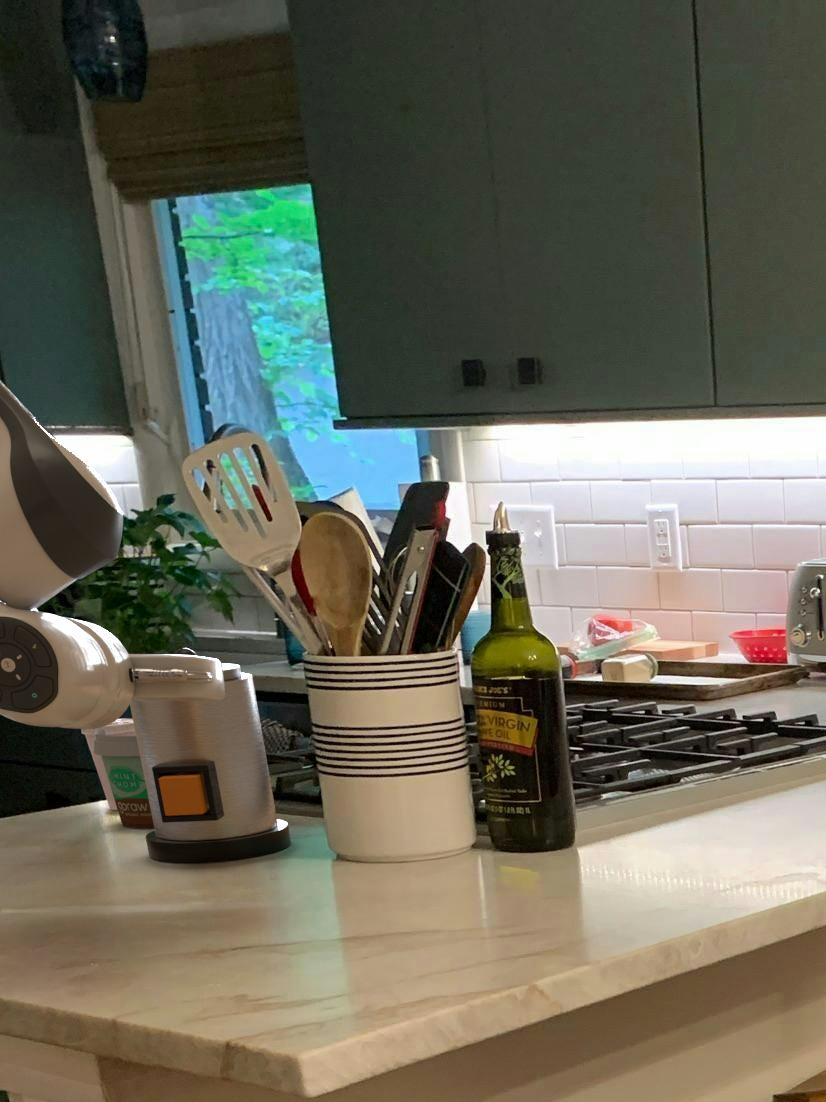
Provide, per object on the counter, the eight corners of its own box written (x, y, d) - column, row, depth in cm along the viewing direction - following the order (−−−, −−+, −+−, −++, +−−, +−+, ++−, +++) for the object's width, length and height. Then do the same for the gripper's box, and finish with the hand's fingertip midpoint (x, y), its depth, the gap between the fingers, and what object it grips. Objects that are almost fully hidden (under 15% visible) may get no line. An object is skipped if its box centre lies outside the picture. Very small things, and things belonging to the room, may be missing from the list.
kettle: (269, 861, 194) (232, 653, 186) (127, 868, 193) (84, 659, 185) (311, 828, 210) (279, 636, 202) (180, 834, 209) (143, 641, 201)
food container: (86, 830, 213) (66, 737, 209) (117, 820, 219) (99, 729, 214) (188, 830, 211) (170, 736, 207) (217, 820, 216) (200, 728, 212)
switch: (202, 814, 190) (195, 777, 189) (165, 815, 190) (158, 778, 188) (207, 811, 192) (201, 774, 190) (171, 812, 192) (163, 775, 190)
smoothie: (145, 800, 230) (120, 678, 225) (163, 806, 226) (139, 682, 220) (89, 807, 227) (64, 684, 221) (107, 814, 222) (81, 688, 216)
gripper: (200, 636, 162) (239, 646, 175) (-56, 633, 160) (3, 643, 173) (207, 714, 164) (246, 718, 177) (-47, 712, 161) (12, 716, 175)
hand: (124, 681), depth 175 cm, fingers closed
